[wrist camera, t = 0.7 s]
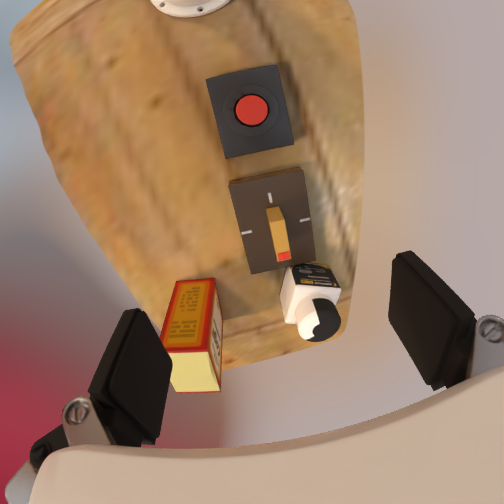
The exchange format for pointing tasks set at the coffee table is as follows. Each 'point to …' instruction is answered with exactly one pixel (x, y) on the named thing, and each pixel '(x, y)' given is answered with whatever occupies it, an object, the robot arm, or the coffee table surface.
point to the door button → (251, 110)
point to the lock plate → (256, 221)
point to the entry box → (232, 128)
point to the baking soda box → (194, 336)
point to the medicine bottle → (311, 300)
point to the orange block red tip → (278, 233)
